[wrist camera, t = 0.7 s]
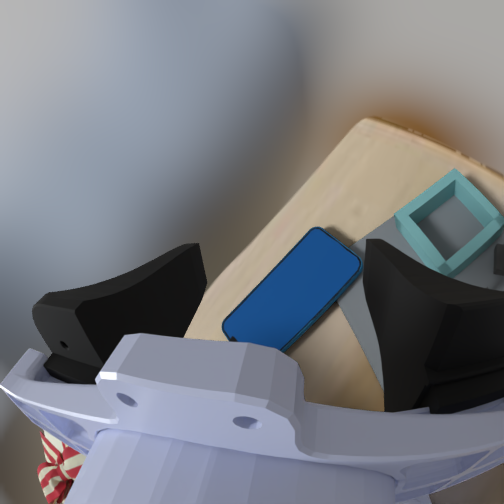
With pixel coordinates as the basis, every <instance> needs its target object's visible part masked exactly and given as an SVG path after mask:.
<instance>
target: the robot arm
mask: <svg viewBox="0 0 504 504" xmlns="http://www.w3.org/2000/svg"><path fill="white" fill-rule="evenodd" d="M362 281H363V287H364V293H365V299H366V302H367V306H368V309H369V312H370V316H371V319H372V322H373V326H374V329H375V332H376V336H377V340H378V344H379V349H380V356H381V364H382V374H383V385H384V412H378V411H368V410H359V409H351V408H343V407H336V406H330V405H323V404H317V403H312V402H306V401H305V398H304V376H303V374H302V372H301V369H300V367H299V364H298V362H296V361H295V360H293V359H292V358H290V357H288V356H287V355H285V354H284V353H282V352H281V351H279V350H278V349H276V348H272V347H267V346H262V345H258V344H253V343H246V342H227V341H212V340H200V339H188V338H183V337H184V335H185V333H186V331H187V329H188V327H189V325H190V323H191V321H192V319H193V317H194V315H195V313H196V311H197V309H198V307H199V305H200V303H201V301H202V298H203V295H204V292H205V288H206V285H207V279H206V275H205V270H204V265H203V261H202V256H201V251H200V246H199V243H191V244H184V245H181V246H179V247H177V248H175V249H173V250H171V251H169V252H167V253H165V254H163V255H161V256H159V257H158V258H156V259H154V260H152V261H150V262H148V263H146V264H144V265H142V266H140V267H138V268H136V269H134V270H132V271H130V272H127V273H125V274H122V275H120V276H117V277H115V278H112V279H109V280H106V281H103V282H100V283H97V284H93V285H89V286H85V287H81V288H76V289H71V290H65V291H58V292H49V293H47V294H45V295H44V296H43V297H42V298H41V299H40V300H39V301H38V302H37V303H36V304H35V305H34V306H33V309H32V314H33V320H34V322H35V325H36V327H37V329H38V331H39V332H40V334H41V335H42V337H43V339H44V341H45V342H46V344H47V345H48V347H49V348H50V350H51V351H52V354H51V356H50V357H49V358H48V357H47V356H46V355H45V354H43V353H41V352H39V351H36V350H34V349H32V348H29V349H28V350H27V351H26V353H25V354H24V355H23V356H22V357H21V359H20V360H19V361H18V362H17V364H16V365H15V366H14V367H13V368H12V370H11V371H10V372H9V374H8V375H7V376H6V377H5V379H4V380H3V381H2V383H1V384H0V387H1V388H2V390H3V391H4V392H5V393H6V394H7V395H8V397H9V398H10V399H11V400H12V401H13V402H14V403H15V404H16V405H17V406H18V408H20V409H21V411H22V412H23V413H24V414H25V415H26V416H27V417H28V418H29V419H30V420H31V421H32V422H33V423H34V424H36V425H38V426H39V427H41V428H42V429H43V430H45V431H46V432H48V433H49V434H51V435H52V436H54V437H55V438H57V439H58V440H60V441H61V442H63V443H65V444H66V445H68V446H69V447H71V448H73V449H74V450H76V451H78V452H79V453H81V454H83V455H84V456H86V459H85V461H84V463H83V465H82V467H81V469H80V471H79V473H78V475H77V477H76V479H75V481H74V483H73V485H72V487H71V489H70V491H69V493H68V495H67V498H66V500H65V502H64V504H432V502H431V500H430V497H429V494H432V493H435V492H438V491H441V490H443V489H446V488H449V487H451V486H454V485H457V484H459V483H461V482H464V481H466V480H469V479H471V478H473V477H475V476H478V475H480V474H482V473H484V472H486V471H488V470H490V469H492V468H494V467H496V466H498V465H500V464H502V463H504V291H498V290H492V289H487V288H482V287H479V286H475V285H471V284H468V283H464V282H461V281H459V280H456V279H453V278H450V277H448V276H446V275H443V274H441V273H439V272H437V271H435V270H432V269H430V268H428V267H427V266H425V265H423V264H421V263H419V262H418V261H416V260H414V259H413V258H411V257H409V256H408V255H406V254H405V253H403V252H402V251H400V250H399V249H397V248H395V247H394V246H392V245H391V244H389V243H388V242H386V241H384V240H382V239H366V248H365V260H364V270H363V280H362Z"/></svg>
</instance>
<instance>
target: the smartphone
mask: <svg viewBox="0 0 504 504" xmlns="http://www.w3.org/2000/svg"><path fill="white" fill-rule="evenodd" d="M362 270H363V262H362V260H361V258H360V257H359V256H358V255H357V254H355V253H354V252H353V251H352V250H350V249H349V248H348V247H346V246H345V245H344V244H343V243H341V242H340V241H339V240H337V239H336V238H335V237H333V236H332V235H331V234H329V233H328V232H327V231H325V230H324V229H323V228H321V227H313V228H311V229H310V230H309V231H308V232H307V233H306V234H305V235H304V236H303V237H302V239H301V240H300V241H299V242H298V243H297V244H296V245H295V246H294V247H293V248H292V249H291V250H290V251H289V252H288V253H287V255H286V256H285V257H284V258H283V259H282V260H281V261H280V262H279V263H278V264H277V265H276V266H275V267H274V268H273V269H272V270H271V271H270V273H269V274H268V275H267V276H266V277H265V278H264V279H263V280H262V281H261V282H260V283H259V284H258V285H257V286H256V287H255V288H254V289H253V290H252V291H251V292H250V293H249V294H248V295H247V296H246V298H245V299H244V300H243V301H242V302H241V303H240V304H239V305H238V306H237V307H236V308H235V309H234V310H233V311H232V312H231V313H230V314H229V315H228V316H227V317H226V318H225V319H224V321H223V322H222V331H223V333H224V334H225V336H226V337H227V339H228V340H229V342H246V343H253V344H258V345H262V346H267V347H272V348H276V349H278V350H279V351H281V352H282V353H284V352H285V351H286V350H287V349H288V348H289V347H290V346H291V345H292V344H293V343H294V342H295V341H296V340H297V339H298V338H299V337H300V336H301V335H302V334H303V333H304V332H305V331H306V330H308V329H309V328H310V327H311V326H312V325H313V324H314V323H315V322H316V321H317V320H318V318H319V317H320V316H321V315H322V314H323V313H324V312H325V311H326V310H327V309H328V308H329V307H330V306H331V305H332V304H333V303H334V302H335V301H336V300H337V299H338V298H339V297H340V296H341V294H342V293H343V292H344V291H345V290H346V289H347V288H348V287H349V286H350V285H351V284H352V282H353V281H354V280H355V279H356V278H357V277H358V276H359V275H360V274H361V272H362Z"/></svg>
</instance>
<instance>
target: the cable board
mask: <svg viewBox="0 0 504 504" xmlns="http://www.w3.org/2000/svg"><path fill="white" fill-rule="evenodd" d="M366 239H382V240H384V241H386V242H388V243H389V244H391V245H392V246H394V247H395V248H397V249H399V250H400V251H402V252H403V253H405V254H406V255H408V256H409V257H411V258H413V259H414V260H416V261H418V262H419V263H421V264H423V265H425V266H427V267H428V268H430V269H432V270H435V271H437V272H439V273H441V274H443V275H446V276H448V277H450V278H453V279H456V280H459V281H461V282H464V283H468V284H471V285H475V286H479V287H482V288H487V289H492V290H498V291H504V217H503V216H502V215H501V214H500V213H499V211H498V210H497V209H496V208H495V207H494V206H493V205H492V204H491V203H490V202H489V201H488V200H487V198H486V197H485V196H484V195H483V194H482V193H481V192H480V191H479V190H478V189H477V188H476V187H475V186H474V185H473V184H472V183H470V182H469V181H468V180H467V179H466V178H465V177H464V176H463V175H462V174H461V173H460V172H459V171H458V170H456V169H455V168H454V169H453V170H452V171H450V172H449V173H448V174H446V175H445V176H444V177H443V178H441V179H440V180H439V181H437V182H436V183H435V184H433V185H432V186H431V187H430V188H428V189H427V190H426V191H424V192H423V193H422V194H420V195H419V196H418V197H416V198H415V199H414V200H412V201H411V202H409V203H408V204H407V205H405V206H404V207H403V208H401V209H400V210H399V211H397V212H396V213H394V216H393V217H391V218H390V219H389V220H387V221H386V222H384V223H383V224H382V225H380V226H379V227H377V228H376V229H375V230H373V231H372V232H370V233H369V234H367V235H366V236H365V237H363V238H362V239H360V240H359V241H357V242H356V243H354V244H353V245H351V246H350V247H349V249H350V250H352V251H353V252H354V253H355V254H357V255H358V256H359V257H360V258H361V260H362V262H363V270H364V260H365V248H366ZM363 270H362V272H361V274H360V275H359V276H358V277H357V278H356V279H355V280H354V281H353V282H352V284H351V285H350V286H349V287H348V288H347V289H346V290H345V291H344V292H343V293H342V294H341V296H340V297H339V298H338V299H337V302H338V304H339V306H340V308H341V309H342V311H343V313H344V315H345V317H346V319H347V321H348V322H349V324H350V326H351V328H352V330H353V332H354V334H355V336H356V338H357V339H358V341H359V343H360V345H361V347H362V349H363V351H364V353H365V355H366V357H367V359H368V361H369V363H370V365H371V367H372V369H373V371H374V373H375V375H376V377H377V379H378V381H379V383H380V385H381V387H382V389H383V391H384V385H383V374H382V364H381V356H380V349H379V344H378V340H377V336H376V332H375V329H374V326H373V322H372V319H371V316H370V312H369V309H368V306H367V302H366V299H365V293H364V287H363V281H362V280H363Z"/></svg>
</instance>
